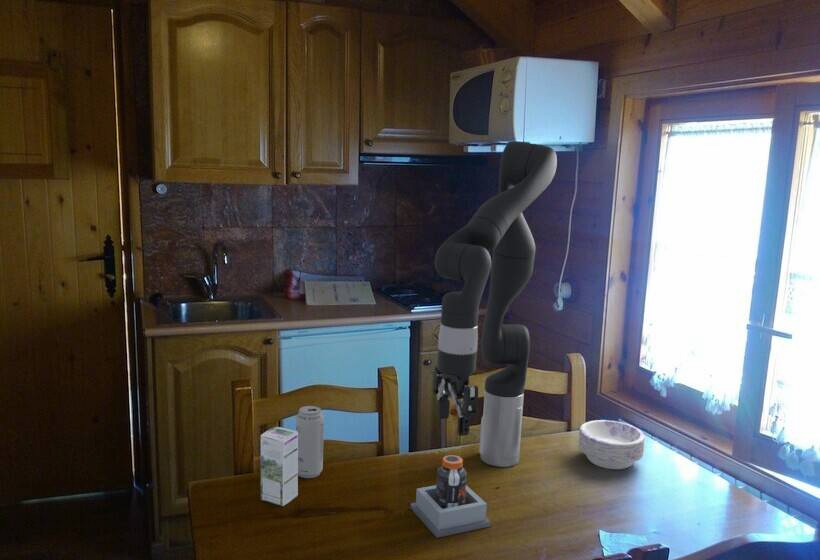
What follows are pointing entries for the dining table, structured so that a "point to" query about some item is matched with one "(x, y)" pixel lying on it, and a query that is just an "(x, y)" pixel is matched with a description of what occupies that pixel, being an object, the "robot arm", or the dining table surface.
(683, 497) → the dining table surface
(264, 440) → the syrup box
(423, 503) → the holder
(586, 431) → the paper bowls
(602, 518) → the dining table surface
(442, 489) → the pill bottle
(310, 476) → the energy drink can
